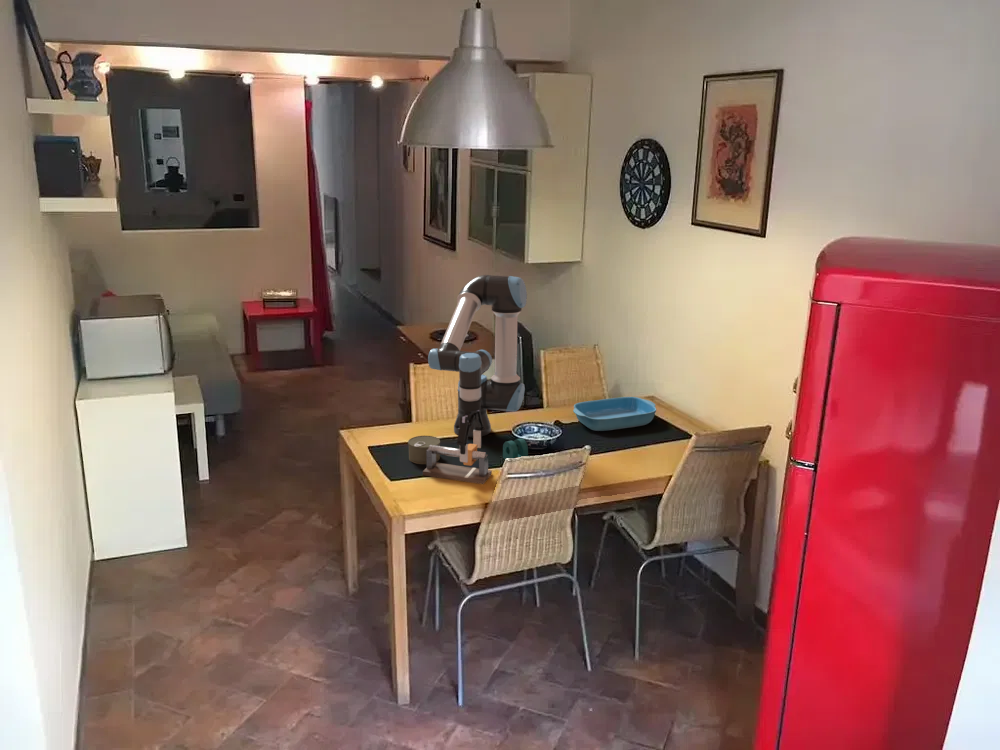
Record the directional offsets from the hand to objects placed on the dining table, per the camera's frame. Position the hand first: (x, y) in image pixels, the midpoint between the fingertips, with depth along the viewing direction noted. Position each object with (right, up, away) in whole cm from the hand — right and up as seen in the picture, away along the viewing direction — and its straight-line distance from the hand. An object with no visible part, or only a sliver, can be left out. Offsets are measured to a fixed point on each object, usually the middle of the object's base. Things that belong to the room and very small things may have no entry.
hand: (470, 454), depth 294 cm
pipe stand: (-5, -8, +4) cm, 10 cm away
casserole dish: (+59, +8, +58) cm, 83 cm away
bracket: (+19, -5, +13) cm, 24 cm away
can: (-18, -3, +18) cm, 26 cm away
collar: (0, -3, +1) cm, 3 cm away
